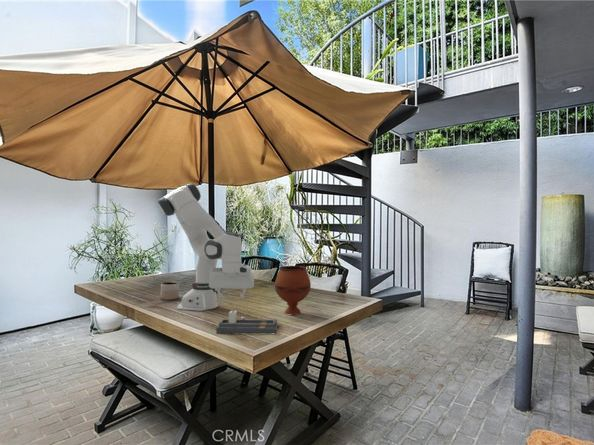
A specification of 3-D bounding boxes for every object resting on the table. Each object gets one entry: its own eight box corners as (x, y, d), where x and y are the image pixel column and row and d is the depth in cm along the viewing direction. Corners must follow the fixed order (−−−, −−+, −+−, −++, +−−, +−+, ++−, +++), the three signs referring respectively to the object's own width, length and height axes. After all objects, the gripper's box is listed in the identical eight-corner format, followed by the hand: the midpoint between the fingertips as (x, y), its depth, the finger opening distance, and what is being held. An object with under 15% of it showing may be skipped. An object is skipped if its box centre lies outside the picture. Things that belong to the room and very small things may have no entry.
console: (216, 333, 147) (216, 324, 147) (222, 324, 160) (222, 315, 160) (275, 334, 147) (275, 324, 147) (277, 324, 160) (277, 316, 160)
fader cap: (228, 324, 152) (228, 312, 152) (230, 321, 156) (230, 310, 156) (235, 324, 152) (235, 312, 152) (236, 321, 156) (237, 310, 156)
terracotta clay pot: (267, 313, 181) (267, 266, 181) (292, 307, 195) (293, 263, 194) (291, 320, 167) (292, 270, 167) (317, 313, 181) (318, 267, 181)
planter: (156, 299, 209) (156, 284, 209) (168, 295, 220) (168, 281, 220) (171, 300, 206) (171, 285, 206) (182, 297, 216) (182, 282, 216)
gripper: (207, 268, 150) (206, 299, 150) (252, 269, 150) (252, 300, 150) (210, 266, 157) (210, 296, 157) (254, 267, 156) (254, 296, 156)
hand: (231, 298), depth 153 cm, fingers open, 8 cm apart
